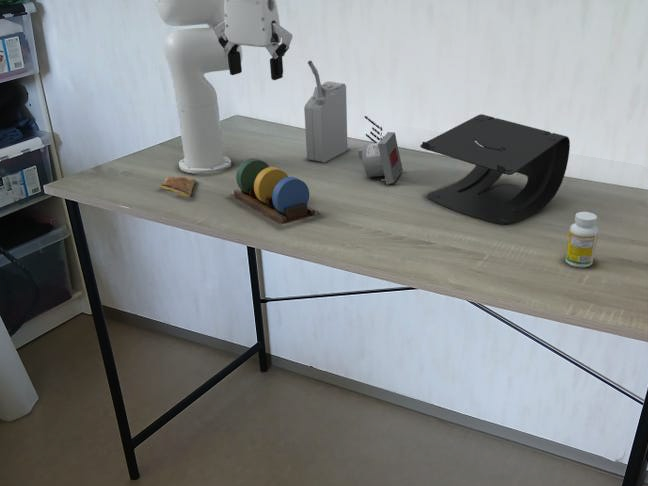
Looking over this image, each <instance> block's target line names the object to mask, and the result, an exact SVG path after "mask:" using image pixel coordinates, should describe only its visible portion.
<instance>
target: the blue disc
mask: <svg viewBox="0 0 648 486" xmlns="http://www.w3.org/2000/svg"><path fill="white" fill-rule="evenodd" d="M309 200H310V190H309V187H308V185H307V183H306V182H305V181H304V180H302V179H300V178H297V177H295V176H288V177H286V178H283V179H282V180H280V181H279V182H278V183H277V185H276V186H275V188H274V190H273V194H272V201H273V205H274V207H275V208H276V209H277V210H278V211H279V212H281V213H282V214H284V215H285V208H288V207H292V206H295V205H299V204H303V203H306V204H307V205H308V204H309Z"/></svg>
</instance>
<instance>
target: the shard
mask: <svg viewBox="0 0 648 486" xmlns="http://www.w3.org/2000/svg"><path fill="white" fill-rule="evenodd" d="M195 184H196V179H195V178H192V177H187V176H174V177H173V176H168V177H166V178H165V180H164V181H163V182H162V183H161V184H159V188H160V189H163V190H167V191H170V192H172V193H175V194H179V195H181V196H185V197H191V198H192V191H193V189H194V185H195Z"/></svg>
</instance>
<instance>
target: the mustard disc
mask: <svg viewBox="0 0 648 486" xmlns="http://www.w3.org/2000/svg"><path fill="white" fill-rule="evenodd" d="M286 177H289V175H288V174H287V172H285V171H284V170H282V169H280V168H278V167H275V166H269V167H268V168H265V169H264V170H262V171H261V172H260V173H259V174H258V175H257V177H256V179H255V183H254V192H255V195H256V196H257V198H258V199H259V200H260V201H262V202H263V203H265V204H266V198H267V197H271V196H272V194H273V190H274V188H275V186H276V185H277V183H278V182H279V181H280V180H282V179H283V178H286Z"/></svg>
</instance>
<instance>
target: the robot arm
mask: <svg viewBox="0 0 648 486" xmlns="http://www.w3.org/2000/svg"><path fill="white" fill-rule="evenodd" d="M154 3H155V7H156V10H157V12H158V14H159V16H160V19H161V21H163V22H164V24H166V25H168V26H170V27H171V26H172V27H189V26H200V25H203V26H204V25H207V26H208V27H195V28H194V27H193V28H184V29H183V28H182V29H178V30H174V31H171V32H170V33H169V34H168V35H166V37H165V39H164V41H163V51H164V55H165V59H166V63H167V65H168V69H169V72H170V76H171V80H172V85H173V90H174V95H175V97H174V98H175V103H176V110H177V115H178V123H179V130H180V137H181V143H182V144H181V145H182V150H183V157H184V158H182V159H181V160H179V162H178V167H179V170H181V171H182V172H183V173H186V174H187V173H188V174H193V175H201V174H203V173H208V172H209V173H211V172H217V171H220V170H225V169H228V168H230V167H232V159H231V158H229V157H228V156H226V155H225V152H224V145H223V143H224V142H223V135H222V127H221V126H222V125H221V120H220V119H221V118H220V110H219V102H218V94H217V91H216V88H214V86H213V84H212V83H211V82H209V80H208V79H207V78H206V77H205V74H208V73H215V72H222V71H223V72H224V71H229V75H230V76H235V75H239V74H241V73H243V70H242V69H243V68H242V61H243V47H242V46H246V47H255V48H256V47H257V48H265V49H266V50H267V52H268V53H269V55H270V56H271V58H269V69H270V79H271V80H272V81H277V80H280V79H283V77H284V62H283V57H285V55H286V52H287V51H288V50H289V49H290V45H291V42H292V40H293V34H292V33H291V32H290V31H288V30H287V29H286V28H284V27H282V26H281V23H280V15H279V10H278V5H277V0H154Z"/></svg>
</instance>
